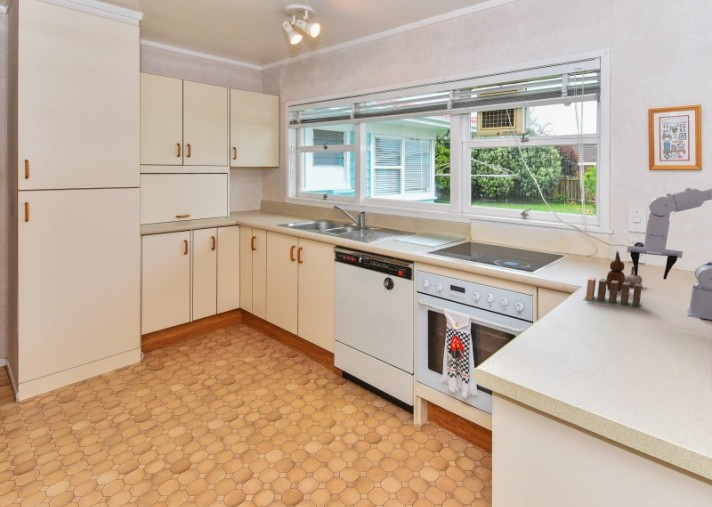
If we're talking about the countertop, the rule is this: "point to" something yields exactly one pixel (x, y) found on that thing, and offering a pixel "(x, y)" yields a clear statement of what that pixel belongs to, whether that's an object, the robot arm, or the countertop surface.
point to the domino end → (590, 288)
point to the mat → (612, 303)
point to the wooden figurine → (616, 272)
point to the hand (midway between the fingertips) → (650, 277)
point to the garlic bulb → (633, 278)
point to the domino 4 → (636, 295)
